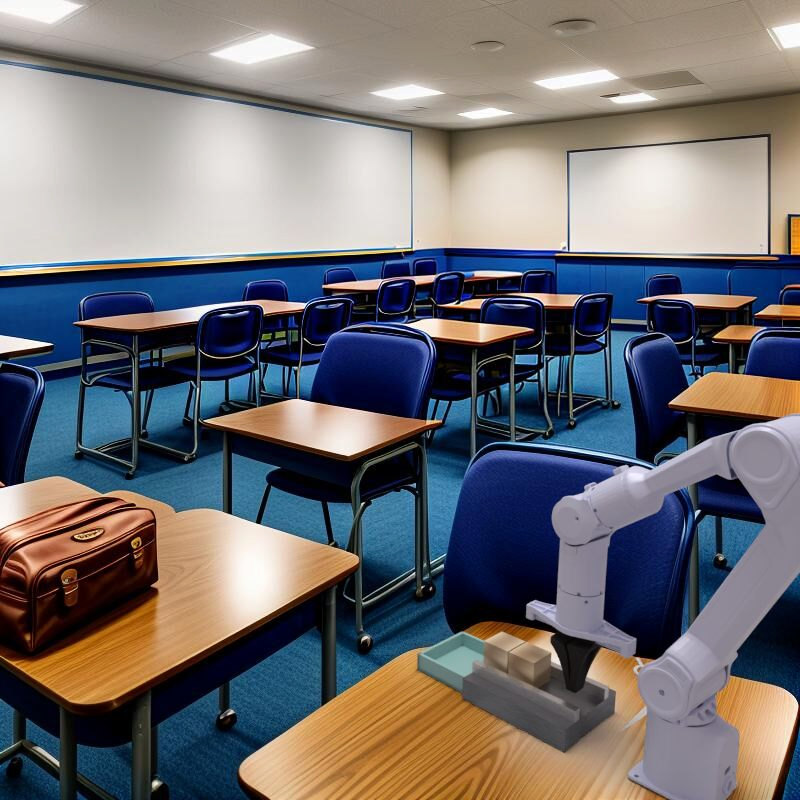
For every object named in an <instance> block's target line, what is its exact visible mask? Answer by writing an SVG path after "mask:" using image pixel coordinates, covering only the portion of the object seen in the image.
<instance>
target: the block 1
mask: <svg viewBox="0 0 800 800" xmlns="http://www.w3.org/2000/svg"><path fill="white" fill-rule="evenodd" d="M483 641H484V658H483V663H485V664H487V665H490V666H492V667H494V668H496V669H498V670H500V671H502V672H504V673H506V674H508V664H509V652H510V651H512V650H513V649H515V648H517V647H519V646H520V645H522V644H524V643H526V641H525V640H523V639H521V638H518V637H516V636H513V635H511V634H509V633H508V632H507V633H506V632H504V631H500V632H498V633H496V634H494V635H493V636H491V637H489V638H486V639H485V640H483Z"/></svg>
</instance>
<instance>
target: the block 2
mask: <svg viewBox="0 0 800 800" xmlns="http://www.w3.org/2000/svg"><path fill="white" fill-rule="evenodd" d="M551 661H552V651H548V650H546V649H544V648H543V647H542V648H541V647H539V646H537V645H535V644H532V643H530V642H528V641H525V643H524V644H522V645H520V646H519V647H517V648H515V649H513V650H512V651H510V652H509V664H508V674H509V675H511V676H513V677H515V678H517V679H519V680H521V681H523V682H526V683H528V684H530V685H532V686H534V687H536V688H539V687H541V686H542V685H544V684H545V683H547V682H548V681H550V671H551Z"/></svg>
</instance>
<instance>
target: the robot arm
mask: <svg viewBox="0 0 800 800" xmlns="http://www.w3.org/2000/svg"><path fill="white" fill-rule="evenodd" d="M612 472H613V476H611V477H609V478H607V479H604V480H603V481H601V482H599V483H597V482H593V481H592V482H591V483H588V484H586V485H584V491H583V492H582V493H578V494H575V495H566V496H563V497H562V498H561V499H560V500H559V501H558V502H557V503H555V505H554V506H553V509H552V513H551V523H552V527H553V529H554V532H555V534H556V535H557V537H558V538H559V552H558V569H557V570H558V571H557V588H556V592H557V593H556V604H552V603H551V604H550V603H546V602H542V601H539V600H537V599H535V600H533V601H530V602H529V603H527V604H526V606H525V607H526V608H525V609H526V611H525V613H526V614H525V618H526V619H528V620H530V621H535V620H537V621H540V622H542V623H545V624H547V625H549V626H552V627H553V628H554V629H555V632H554V634H552V635H551V636H550V639H549V641H550V645H551V646H552V648H553V649H554V652H555V654H556V655H557V658H558V661H559V665H561V667H562V671H563V675H564V680H565V685H566V689H567V690H569V691H571V692H573V693H577V692H578V691H580V690H581V689H582V688H583V687H584V683H585V680H586V677H588V673H589V671H590V670H591V669H590V668H591V666H592V664H593V663H594V660H595V658H596V656H597V655H598V653H599V652H600V650H601V649H602V648H603V647H605V648H607V649H609V650H612V651H613V652H617V653H619V656H620V657H622V658H624V659H627V660H628V659H629V658H631V657H632V656H634V655H635V654H636V651H637V650H636V649H637V638H636V637H633V636H631V635H629V634H627V633H626V632H624V631H622V630H621V629H619V628H618V627H616V626H614V625H612V624H611V623H609V622H608V621H606V620H605V619H604V610H605V595H606V594H605V592H606V578H607V577H606V576H607V565H608V549H609V547H610V543H611V542H610V541H611V537H612V535H613V534H614V533H615V532H616V531H617V530H619V529H622V528H625V527H626V526H629V525H631V524H633V523H635V522H638V521H640V520H643V519H645V518H647V517H650V516H652V515H654V514H657V513H658V512H659V511H660V510H661V509H662V506H663V505H664V499H665V496H667V495H669V494H672V493H674V492H676V491H679V490H681V489H684V488H686V487H689V486H691V485H694V484H695V483H696V484H697V483H698V482H700V481H703V480H706V479H708V478H710V477H713V476H715V475H718V476H719V477H722V478H724V479H726V480H730V481H731V480H735V479H739V481H740V482H741V484H742V485H743V487H744V488H745V489H746V490H747V492H748V493H749V495H750V496H751V498H752V499H753V501H754V502H755V504H756V505H757V506H758V508H759V509H760V510H761V514H762V516H763V518H764V521H765V525H764V526H763V528H762V529H761V530H760V532H759V533H758V535H757V536H756V537H755V538H754V540H753V541H752V543H751V544H750V545H749V547H748V549H747V550H745V552H744V554H743V555H742V556H741V558H740V559H739V560H738V562H737V563H736V564H735V566H734V567H733V568H732V570H731V571H730V573H729V574H728V575H727V576H726V578H725V579H724V580H723V582H722V583H721V585H720V586H719V587H718V588H717V589H716V591H715V592H714V594H713V595H712V596H711V598H710V599H709V601H708V602H707V604H706V605H705V606H704V608H703V609H702V610H701V611H700V613H699V614H698V616H697V617H696V618H695V620H694V621H693V623H692V624H691V625H690V627H689V628H688V629H687V630H686V632H685V633H683V634H682V636H680V637H678V639H677V640H676V641H675V642H673V643H672V645H670V646H669V647H668V648H667V649H666V650H665V652H664V653H663V654H662V655H661V656H660V657H658V658H657V659H655V660H653V661H649V662H646V663H645V664H643V665H644V666H643V667H642V668H641V669H639V672H638V673H639V674H638V677H637V679H636V680H637V683H636V684H637V689H638V693H639V695H640V697H641V699H642V701H643V703H644V704H645V707H646V706H647V714H646V721H645V730H644V731H645V733H644V744H643V745H644V746H643V747H644V748H643V758H642V759H641V760H640V761H638V762H637V764H635V765H634V766H633V767H632V768H631V769H630V770H629V771H628V772H627V777H628V779H629V780H632V781H633V782H635V783H637V784H639V785H641V786H643V787H645V788H647V789H649V790H651V791H653V792H654V793H656V794H659V795H660V796H662V797H664V798H666V799H668V800H727V799H728V798H729V796H731V794H732V793H733V792H734V791H733V790H736V788H737V787H738V784H739V783H738V781H737V772H738V761H739V760H738V759H739V751H740V740H741V739H740V737H741V736H740V731H739V729H738V728H737V727H736V726H734V725H732V724H731V723H729V722H728V721H726V720H725V719H724V718H723V717H722V716H720V715H719V713H718V712H717V711H718V709H717V708H718V707H717V696H718V693H719V692H721V691H723V690H724V689H725V688H726V687H727V685H728V683H729V682H730V681H729V680H730V678H731V677H730V676H731V668H732V665H733V662H734V661H735V660H736V659H737V658H738V657H739V656H738V655H739V654H738V652H737V650H739V649H740V647H741V646H742V645H743V644H744V642H745V641H746V640H747V638H749V636H750V635H751V634H752V633H753V631H754V630H755V629H756V628H757V626H758V625H759V624H760V622H761V621H762V620H763V619H764V618H765V617H766V615H767V614H768V612H769V611H770V610H771V609H772V608H773V606H774V605H775V604H776V603H777V602H778V600H779V599H780V598H781V596H782V595H783V594H784V593H785V591H786V590H787V589H788V587H790V585H791V584H792V582H793V581H795V579H796V578H797V577H798V575H799V574H800V413H791V414H786V415H784V416H782V417H780V418H778V419H775V420H770V421H767V422H759V423H752V424H749V425H746V426H744V427H743V428H742V429H739V430H735V431H731V432H728V433H724V434H721V435H717V436H713V437H710V438H709V439H706V440H704V441H703V442H701V443H699V444H697V445H695V446H694V447H693V446H692V448H690V449H688V450H686V451H684V452H682V453H681V454H678V455H676V456H675V457H673V458H671V459H669V460H668V461H665V462H664V463H662V464H660V465H658V466H655V467H654V468H652V469H648V468H645V467H642V466H638V465H633V466H631V467H629V465H627V464H625V465H621V466H619V467H617V468H615V469H613V470H612ZM736 786H737V787H736ZM735 787H736V788H735ZM732 791H733V792H732Z"/></svg>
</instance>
